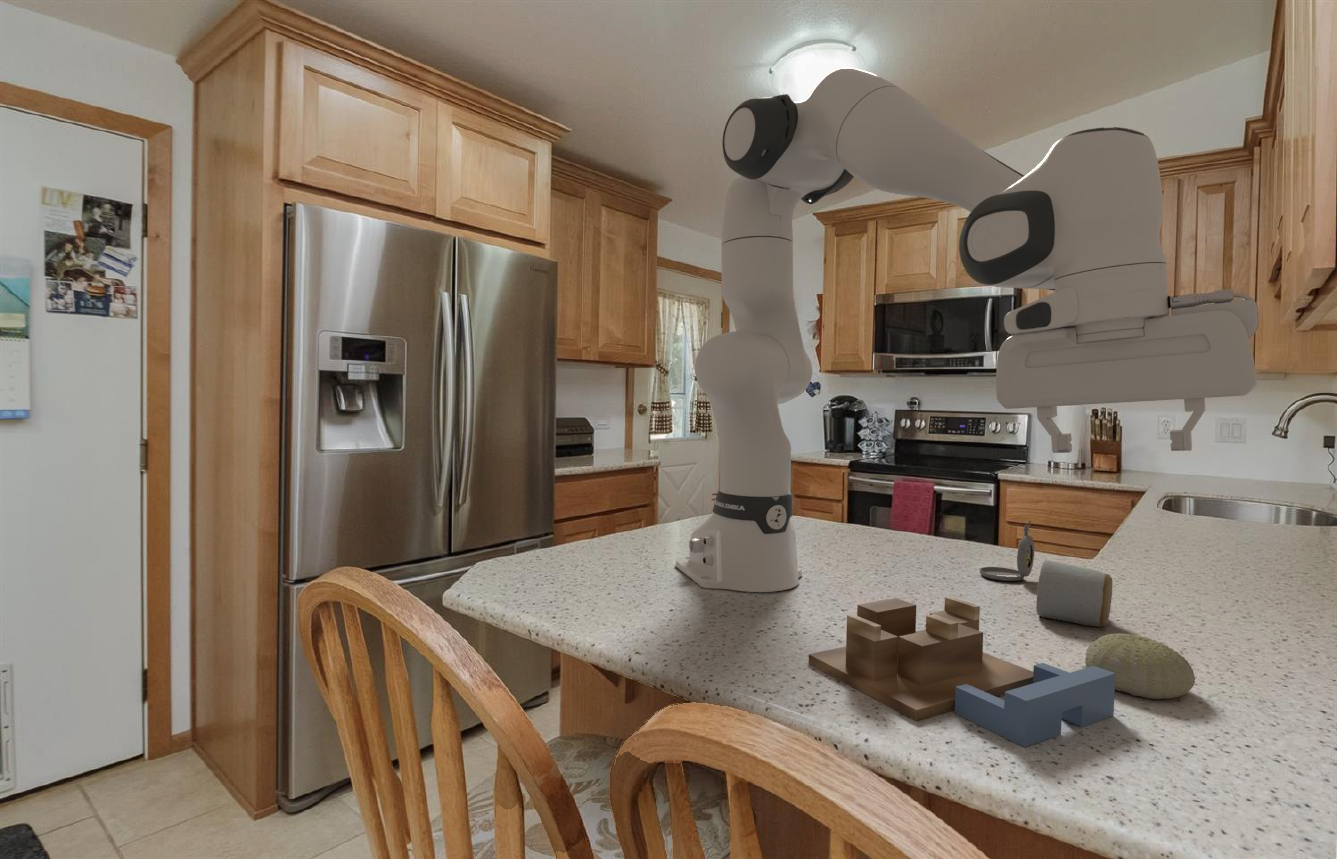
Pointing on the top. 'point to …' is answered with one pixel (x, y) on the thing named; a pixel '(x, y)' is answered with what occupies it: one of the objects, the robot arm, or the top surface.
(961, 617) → the stand
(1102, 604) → the ceramic mug
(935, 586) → the top surface
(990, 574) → the pocket watch
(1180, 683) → the sea urchin shell
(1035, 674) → the blue stepped bracket
